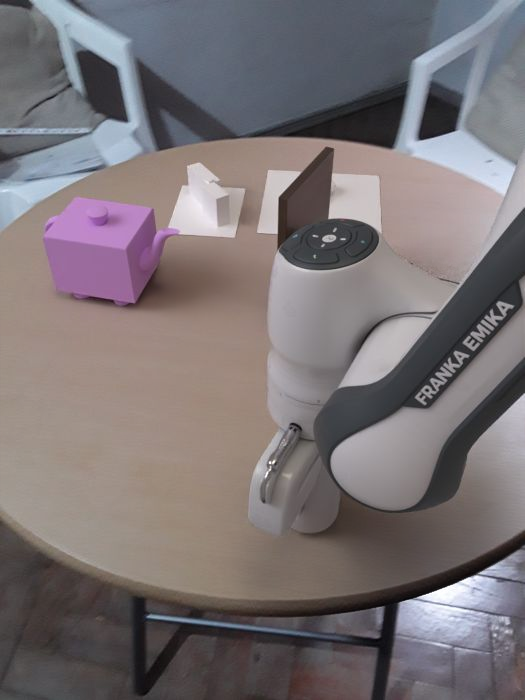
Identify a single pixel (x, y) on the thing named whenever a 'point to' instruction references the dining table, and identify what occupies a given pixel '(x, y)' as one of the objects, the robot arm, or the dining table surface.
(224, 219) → the napkin holder
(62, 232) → the teapot
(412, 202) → the dining table surface
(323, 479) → the beverage can
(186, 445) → the dining table surface
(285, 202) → the wooden doll chair
